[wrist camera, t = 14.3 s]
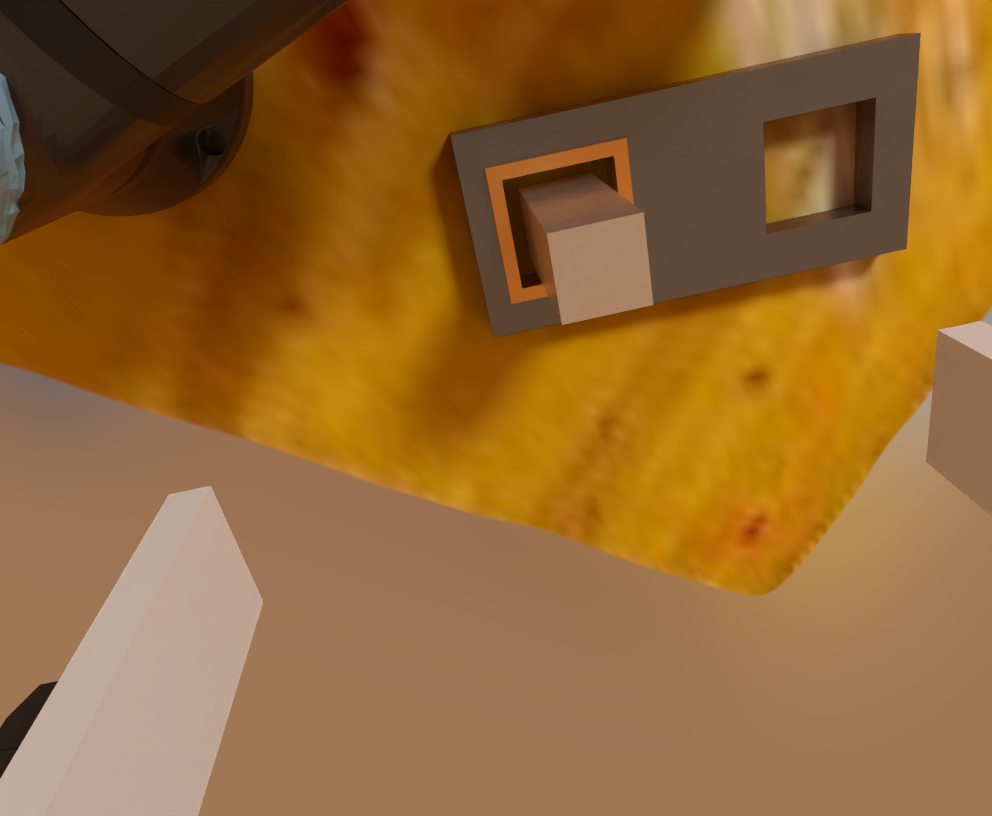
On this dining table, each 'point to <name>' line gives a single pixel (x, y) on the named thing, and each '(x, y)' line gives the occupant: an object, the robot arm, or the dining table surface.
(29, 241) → the dining table surface
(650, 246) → the grey peg board
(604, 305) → the peg
